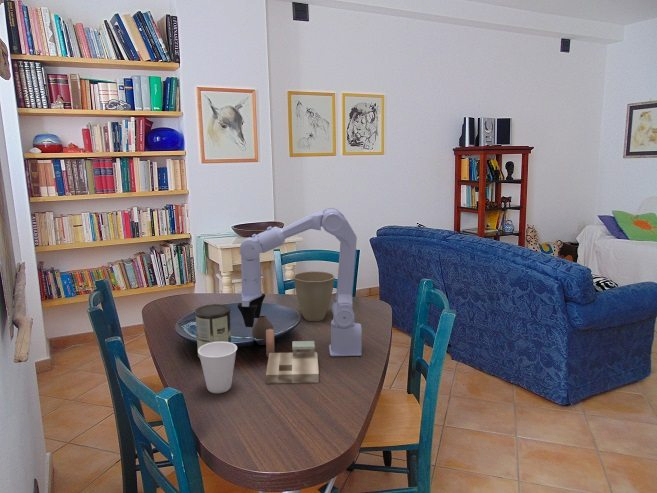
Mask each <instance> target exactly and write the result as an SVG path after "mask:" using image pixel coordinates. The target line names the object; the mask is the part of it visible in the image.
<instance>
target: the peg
mask: <svg viewBox="0 0 657 493" xmlns="http://www.w3.org/2000/svg"><path fill="white" fill-rule="evenodd" d="M265 346H266V347H265V351H266V352H265V354H266V357H268V358H269V353H275V329H274V328H273V329H267V330H266V344H265Z"/></svg>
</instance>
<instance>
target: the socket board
mask: <svg viewBox="0 0 657 493" xmlns="http://www.w3.org/2000/svg"><path fill="white" fill-rule="evenodd" d="M267 359H268V360H267V365H266V373H265V384H268V385H269V384H309V383H310V384H311V383H316V384H317V383H320V382H319V380H320V379H319V378H320V377H319V374H320V373H319V362H318V361H319V359H318V352H316V351H314V356H310V351H309V352H307V351H303V352H302V351H301V352H298V351H297V356H293V352H274V353H269V357H268V358H267Z"/></svg>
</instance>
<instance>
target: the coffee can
mask: <svg viewBox="0 0 657 493" xmlns="http://www.w3.org/2000/svg"><path fill="white" fill-rule="evenodd" d="M194 315H195V328H196V344H197V350H198V349H199V348H200V347H201V346H203V345H205V344H208V343H212V342H221V341H222V342H230V343H232V333H231V332H232V330H231V308H230V306H229V305H225V304H221V303H220V304H218V303H216V304H213V303H212V304H207V305H202V306H199V307H197V308H195V310H194ZM197 357H198V358H199V359H200V356H199V354H198V353H197Z"/></svg>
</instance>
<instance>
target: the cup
mask: <svg viewBox="0 0 657 493" xmlns="http://www.w3.org/2000/svg"><path fill="white" fill-rule="evenodd" d="M237 350H238V346H237V344H235V343H233V342H231V343H230V342H222V341H221V342H212V343H208V344H205V345H203V346H201V347H200V348H199V349H198V348H197V355H198V354H199V356H200V358H199V359H200V363H201V368H202V373H203V375H204V380H205V385H206V389H207V390H208V391H209V392H210V393H212V394H222V393H226V392H228V391H229V390H230V389H231V388H232V383H233V378H234V377H233V376H234V375H233V374H234V369H235V360H236V354H237Z"/></svg>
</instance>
